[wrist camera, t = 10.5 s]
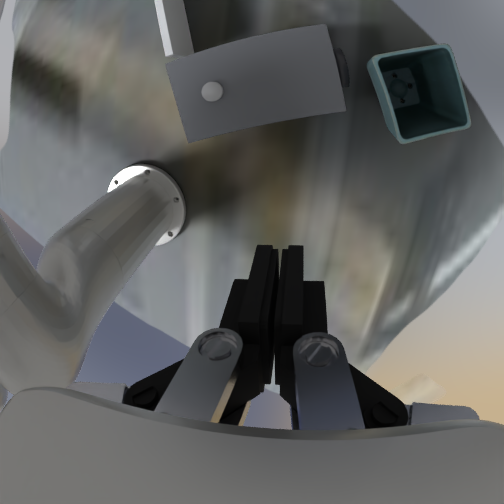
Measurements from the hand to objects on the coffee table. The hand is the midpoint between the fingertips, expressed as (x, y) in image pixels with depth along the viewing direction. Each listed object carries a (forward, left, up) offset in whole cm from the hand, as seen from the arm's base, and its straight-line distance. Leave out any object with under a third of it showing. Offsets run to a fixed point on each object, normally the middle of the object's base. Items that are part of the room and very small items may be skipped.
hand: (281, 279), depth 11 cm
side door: (-9, +20, -27) cm, 35 cm away
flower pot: (+14, +5, -27) cm, 31 cm away
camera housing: (-2, +8, -27) cm, 28 cm away
